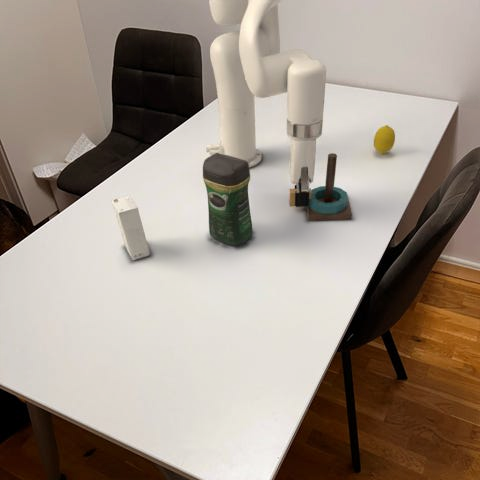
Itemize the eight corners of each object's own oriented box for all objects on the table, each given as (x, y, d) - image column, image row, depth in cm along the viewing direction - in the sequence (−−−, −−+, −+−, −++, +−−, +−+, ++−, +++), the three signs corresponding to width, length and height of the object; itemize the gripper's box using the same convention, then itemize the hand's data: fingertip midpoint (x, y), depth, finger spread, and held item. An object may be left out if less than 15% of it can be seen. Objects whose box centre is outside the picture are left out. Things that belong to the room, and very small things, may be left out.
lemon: (390, 149, 133) (395, 121, 127) (393, 158, 129) (398, 129, 124) (370, 149, 134) (375, 121, 128) (372, 158, 130) (377, 130, 124)
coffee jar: (258, 233, 108) (256, 156, 94) (237, 251, 103) (232, 173, 90) (225, 220, 112) (218, 145, 99) (204, 237, 108) (194, 160, 94)
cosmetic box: (151, 255, 104) (140, 207, 95) (131, 261, 103) (118, 213, 94) (142, 240, 108) (131, 193, 99) (123, 246, 107) (110, 199, 98)
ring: (290, 215, 110) (290, 201, 107) (288, 194, 116) (288, 181, 113) (349, 213, 109) (351, 199, 106) (344, 192, 115) (345, 179, 113)
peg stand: (308, 220, 110) (311, 167, 101) (305, 198, 117) (308, 146, 108) (351, 219, 110) (358, 165, 100) (345, 196, 117) (352, 144, 107)
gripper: (285, 112, 105) (284, 187, 118) (288, 143, 94) (287, 222, 107) (318, 111, 105) (314, 185, 118) (326, 142, 94) (320, 221, 107)
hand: (301, 202), depth 112 cm, fingers closed on ring, 2 cm apart
